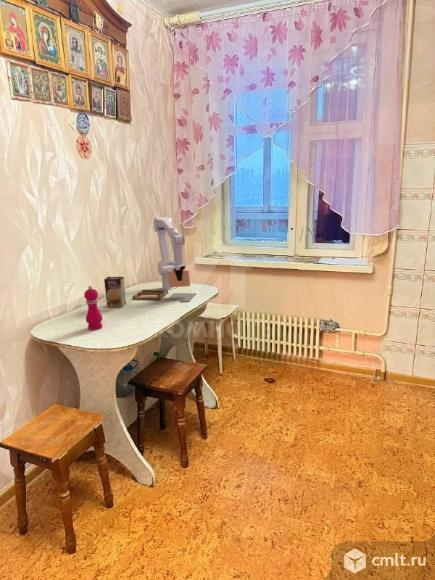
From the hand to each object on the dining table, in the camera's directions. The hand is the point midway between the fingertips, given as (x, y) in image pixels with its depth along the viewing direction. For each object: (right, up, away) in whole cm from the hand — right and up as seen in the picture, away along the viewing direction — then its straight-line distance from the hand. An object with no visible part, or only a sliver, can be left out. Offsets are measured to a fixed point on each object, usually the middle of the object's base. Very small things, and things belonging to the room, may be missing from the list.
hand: (180, 279), depth 224 cm
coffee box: (-33, -15, -11) cm, 38 cm away
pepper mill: (-35, -23, -42) cm, 59 cm away
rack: (-17, -10, +5) cm, 21 cm away
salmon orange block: (0, -3, +1) cm, 4 cm away
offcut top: (-18, -10, +1) cm, 21 cm away
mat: (0, -10, +2) cm, 10 cm away
